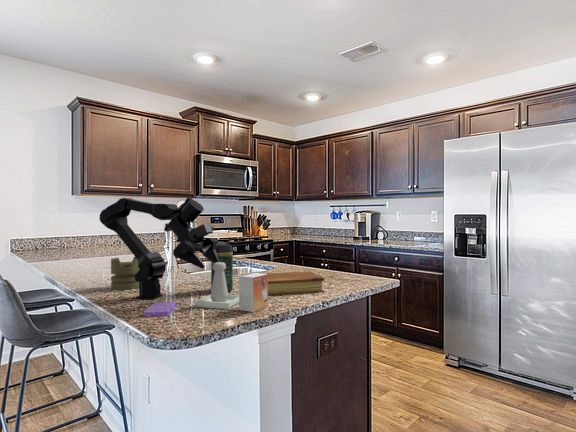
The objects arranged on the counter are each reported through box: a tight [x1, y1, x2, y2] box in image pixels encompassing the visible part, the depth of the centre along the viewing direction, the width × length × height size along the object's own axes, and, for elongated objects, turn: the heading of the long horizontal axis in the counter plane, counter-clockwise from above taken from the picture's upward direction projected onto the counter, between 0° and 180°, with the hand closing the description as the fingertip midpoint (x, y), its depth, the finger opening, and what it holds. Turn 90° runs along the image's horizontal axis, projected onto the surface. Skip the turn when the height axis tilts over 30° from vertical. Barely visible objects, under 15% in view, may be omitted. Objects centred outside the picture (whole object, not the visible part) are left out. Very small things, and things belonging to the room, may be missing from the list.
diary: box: [263, 270, 325, 296], centre depth 143 cm, size 23×19×6 cm
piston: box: [110, 256, 140, 291], centre depth 146 cm, size 11×12×11 cm
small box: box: [238, 272, 269, 313], centre depth 113 cm, size 8×6×10 cm
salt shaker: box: [209, 262, 229, 302], centre depth 119 cm, size 6×6×13 cm
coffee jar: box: [210, 242, 234, 292], centre depth 140 cm, size 10×8×19 cm
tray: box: [195, 293, 239, 310], centre depth 119 cm, size 12×12×2 cm
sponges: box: [143, 301, 178, 317], centre depth 111 cm, size 7×13×2 cm, turn 7°
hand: (211, 265), depth 120 cm, fingers open, 9 cm apart
